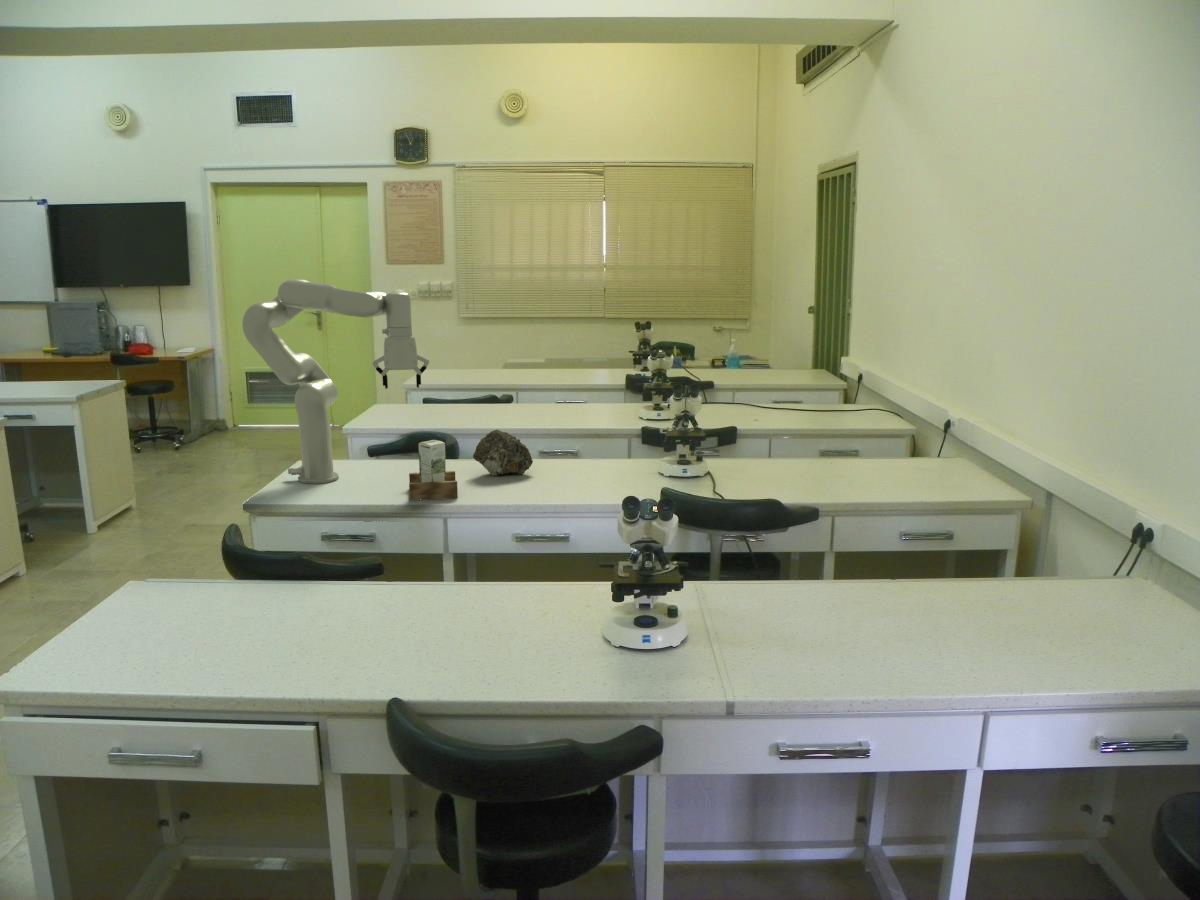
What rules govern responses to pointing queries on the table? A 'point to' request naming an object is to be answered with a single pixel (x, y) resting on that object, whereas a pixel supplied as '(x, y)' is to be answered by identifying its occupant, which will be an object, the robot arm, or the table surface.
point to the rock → (502, 454)
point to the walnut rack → (432, 487)
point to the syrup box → (432, 461)
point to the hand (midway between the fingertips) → (402, 387)
